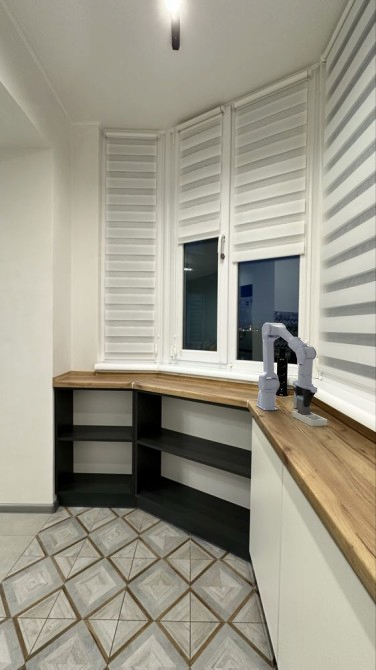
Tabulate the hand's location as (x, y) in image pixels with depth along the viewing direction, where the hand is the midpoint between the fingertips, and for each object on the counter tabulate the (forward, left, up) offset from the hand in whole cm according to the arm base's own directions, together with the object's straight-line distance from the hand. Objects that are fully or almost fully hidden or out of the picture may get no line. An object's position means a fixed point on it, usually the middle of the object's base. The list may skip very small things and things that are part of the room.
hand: (303, 405), depth 131 cm
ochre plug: (-7, +6, -8) cm, 12 cm away
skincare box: (-23, +16, -9) cm, 29 cm away
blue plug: (0, 0, -2) cm, 2 cm away
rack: (-4, +6, -8) cm, 11 cm away
